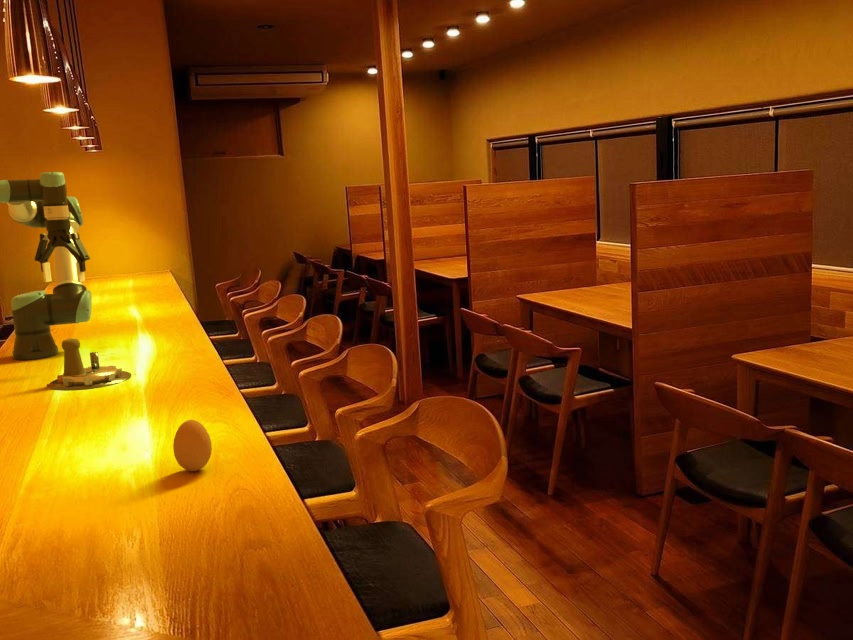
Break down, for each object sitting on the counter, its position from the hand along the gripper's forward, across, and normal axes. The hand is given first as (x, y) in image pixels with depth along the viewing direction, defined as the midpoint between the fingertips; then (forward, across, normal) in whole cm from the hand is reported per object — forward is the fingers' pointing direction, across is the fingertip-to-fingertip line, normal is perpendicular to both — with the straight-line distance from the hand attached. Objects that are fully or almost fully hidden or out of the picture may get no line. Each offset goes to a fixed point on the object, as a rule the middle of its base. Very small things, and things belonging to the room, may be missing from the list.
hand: (64, 281), depth 271 cm
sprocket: (+28, +23, -21) cm, 42 cm away
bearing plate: (+28, +23, -21) cm, 42 cm away
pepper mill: (+26, +20, -24) cm, 40 cm away
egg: (+28, +101, -88) cm, 137 cm away
